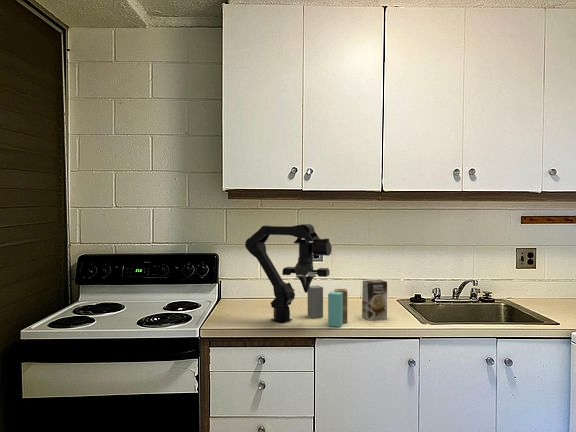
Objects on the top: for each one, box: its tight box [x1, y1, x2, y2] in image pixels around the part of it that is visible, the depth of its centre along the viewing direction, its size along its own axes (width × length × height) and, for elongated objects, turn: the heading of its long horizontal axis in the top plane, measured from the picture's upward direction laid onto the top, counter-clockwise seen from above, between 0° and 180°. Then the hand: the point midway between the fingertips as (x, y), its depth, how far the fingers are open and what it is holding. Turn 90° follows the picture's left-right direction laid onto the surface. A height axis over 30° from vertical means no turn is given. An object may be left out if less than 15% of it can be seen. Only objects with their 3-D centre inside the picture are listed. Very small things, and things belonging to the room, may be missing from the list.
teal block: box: [327, 291, 344, 328], centre depth 180 cm, size 5×5×13 cm
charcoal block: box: [307, 284, 324, 319], centre depth 194 cm, size 5×5×13 cm
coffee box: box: [361, 279, 388, 321], centre depth 191 cm, size 9×6×16 cm
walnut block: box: [334, 288, 348, 323], centre depth 186 cm, size 5×5×13 cm
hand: (306, 292), depth 182 cm, fingers closed
